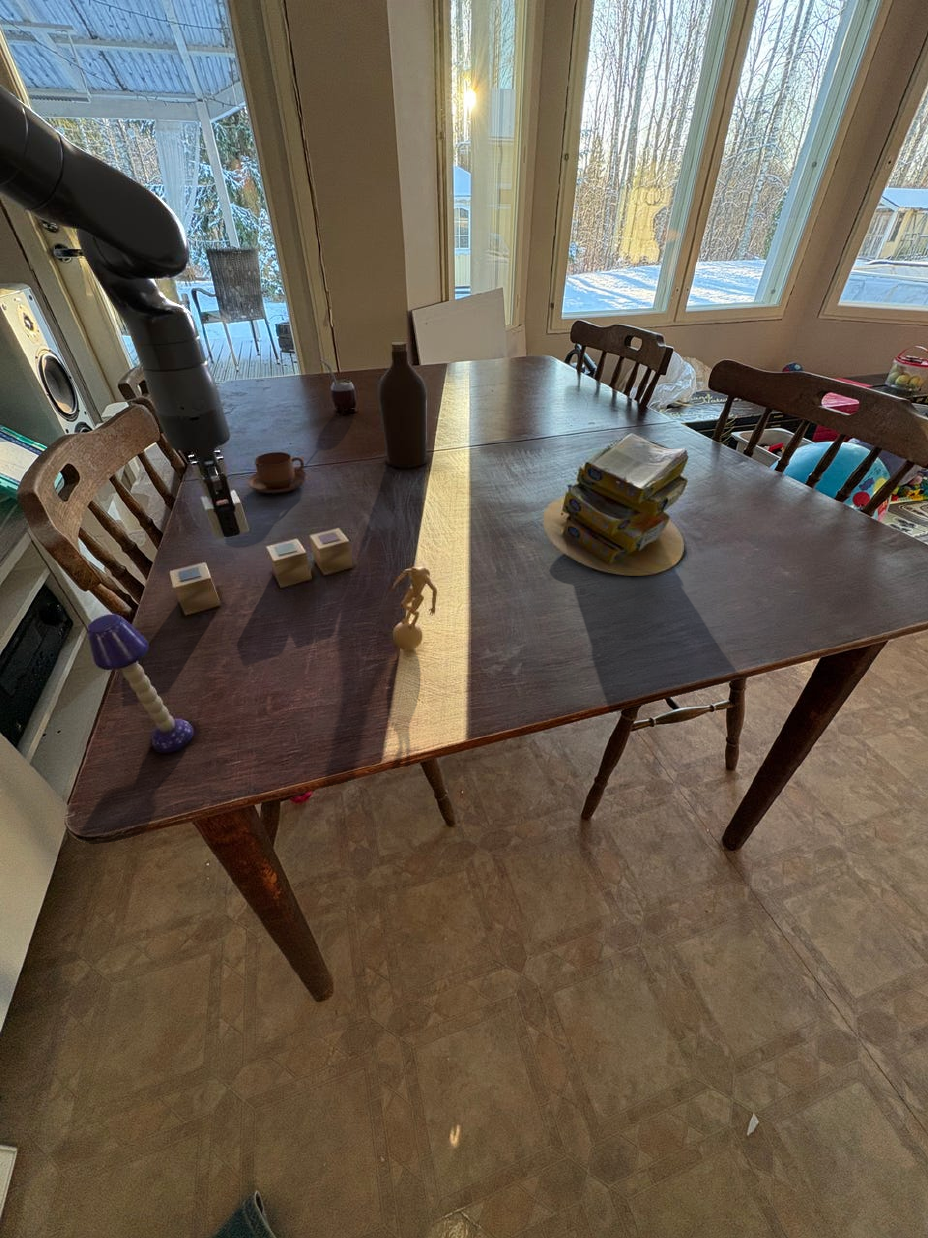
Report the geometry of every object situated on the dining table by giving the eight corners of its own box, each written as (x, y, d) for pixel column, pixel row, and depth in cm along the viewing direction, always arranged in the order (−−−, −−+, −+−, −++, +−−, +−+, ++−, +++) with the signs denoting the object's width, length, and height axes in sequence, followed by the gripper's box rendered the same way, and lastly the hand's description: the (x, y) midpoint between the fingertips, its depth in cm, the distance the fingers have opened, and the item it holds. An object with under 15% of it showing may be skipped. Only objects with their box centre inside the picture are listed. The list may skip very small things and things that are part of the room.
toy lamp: (143, 758, 55) (68, 642, 45) (152, 726, 59) (84, 611, 48) (191, 748, 56) (128, 633, 46) (196, 717, 60) (139, 603, 49)
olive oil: (396, 473, 115) (385, 350, 100) (377, 458, 123) (364, 341, 107) (437, 463, 120) (433, 344, 104) (417, 449, 127) (410, 336, 111)
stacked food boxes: (713, 550, 89) (746, 456, 78) (608, 593, 79) (629, 492, 68) (612, 497, 105) (628, 413, 95) (514, 527, 95) (520, 438, 85)
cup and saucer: (283, 471, 117) (276, 444, 113) (319, 483, 111) (314, 455, 108) (238, 489, 109) (230, 461, 105) (275, 503, 104) (268, 474, 100)
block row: (185, 615, 75) (172, 587, 72) (181, 598, 78) (169, 570, 75) (353, 567, 85) (349, 540, 82) (343, 553, 88) (338, 527, 85)
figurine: (378, 638, 71) (368, 565, 63) (413, 620, 74) (407, 548, 66) (416, 669, 66) (409, 593, 59) (451, 648, 69) (449, 574, 62)
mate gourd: (360, 408, 154) (353, 353, 144) (352, 416, 148) (345, 359, 138) (336, 407, 154) (328, 352, 145) (328, 415, 148) (318, 358, 139)
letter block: (215, 539, 71) (204, 509, 68) (210, 525, 75) (199, 496, 72) (249, 531, 73) (240, 501, 70) (243, 518, 76) (233, 488, 73)
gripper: (149, 394, 66) (194, 513, 77) (160, 425, 57) (209, 557, 67) (210, 386, 69) (245, 502, 80) (230, 414, 60) (267, 542, 70)
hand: (228, 526), depth 74 cm, fingers closed on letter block, 4 cm apart
